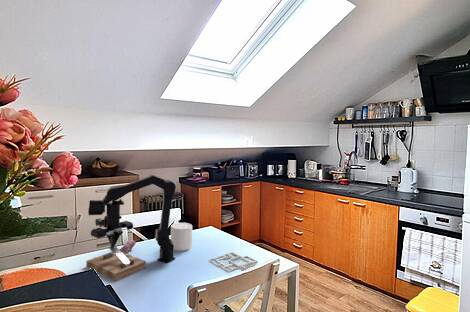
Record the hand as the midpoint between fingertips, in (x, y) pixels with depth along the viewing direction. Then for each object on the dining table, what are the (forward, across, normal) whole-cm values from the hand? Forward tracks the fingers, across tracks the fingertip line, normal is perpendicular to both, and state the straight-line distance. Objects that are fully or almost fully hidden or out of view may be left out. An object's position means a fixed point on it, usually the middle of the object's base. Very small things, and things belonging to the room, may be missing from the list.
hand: (112, 246), depth 140 cm
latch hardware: (+6, 0, +4) cm, 7 cm away
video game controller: (+9, -15, -9) cm, 20 cm away
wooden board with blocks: (+9, 0, +3) cm, 10 cm away
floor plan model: (+9, -41, +45) cm, 61 cm away
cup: (+9, -37, +9) cm, 39 cm away
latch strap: (+3, 0, +5) cm, 6 cm away
